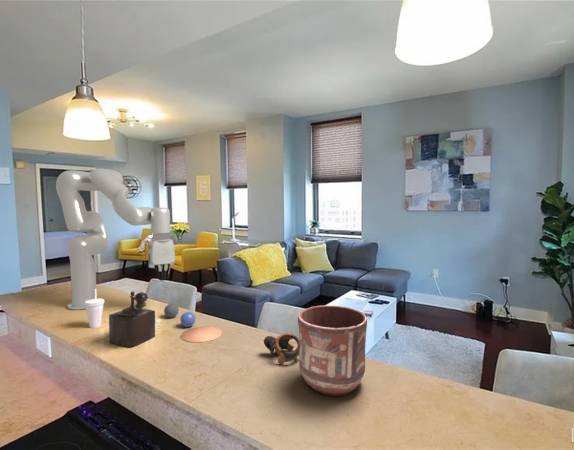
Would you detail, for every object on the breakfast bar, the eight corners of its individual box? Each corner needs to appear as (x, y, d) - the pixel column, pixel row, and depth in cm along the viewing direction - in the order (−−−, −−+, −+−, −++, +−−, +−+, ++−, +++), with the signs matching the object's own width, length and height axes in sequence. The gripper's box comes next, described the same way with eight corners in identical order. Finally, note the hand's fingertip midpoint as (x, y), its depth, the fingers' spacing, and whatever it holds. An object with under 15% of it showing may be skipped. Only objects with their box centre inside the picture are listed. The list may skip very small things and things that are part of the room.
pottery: (297, 365, 94) (298, 303, 93) (359, 367, 93) (361, 305, 92) (296, 402, 76) (296, 327, 75) (372, 406, 75) (374, 330, 74)
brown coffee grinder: (106, 343, 107) (105, 289, 106) (134, 331, 117) (133, 282, 116) (141, 352, 101) (140, 295, 100) (167, 339, 111) (166, 287, 110)
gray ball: (162, 316, 133) (162, 303, 133) (175, 314, 136) (175, 301, 136) (166, 320, 129) (166, 306, 128) (180, 317, 132) (180, 304, 132)
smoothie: (108, 323, 125) (108, 287, 124) (97, 329, 118) (96, 291, 118) (93, 322, 125) (92, 286, 125) (81, 329, 119) (80, 291, 118)
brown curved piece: (301, 352, 103) (306, 335, 99) (293, 378, 96) (298, 361, 91) (266, 339, 105) (269, 322, 101) (255, 364, 98) (258, 346, 93)
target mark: (175, 332, 117) (175, 332, 116) (211, 324, 125) (211, 323, 125) (190, 346, 106) (190, 345, 106) (228, 335, 114) (228, 335, 114)
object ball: (178, 326, 123) (178, 311, 123) (192, 322, 126) (192, 308, 126) (183, 330, 119) (183, 315, 118) (198, 327, 122) (197, 312, 122)
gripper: (146, 238, 129) (147, 284, 130) (181, 236, 140) (182, 278, 141) (139, 237, 135) (140, 281, 136) (173, 235, 145) (174, 276, 146)
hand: (162, 279), depth 138 cm, fingers closed
